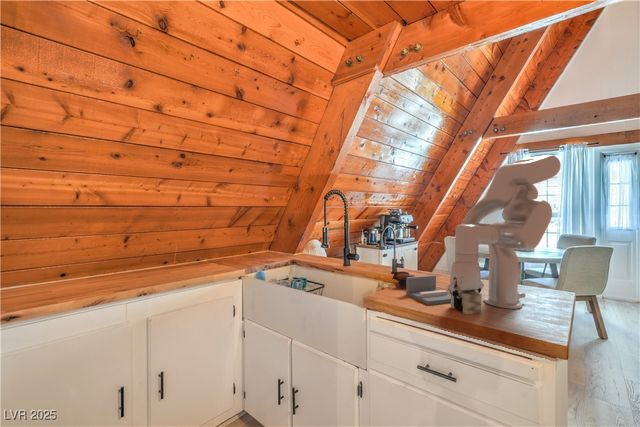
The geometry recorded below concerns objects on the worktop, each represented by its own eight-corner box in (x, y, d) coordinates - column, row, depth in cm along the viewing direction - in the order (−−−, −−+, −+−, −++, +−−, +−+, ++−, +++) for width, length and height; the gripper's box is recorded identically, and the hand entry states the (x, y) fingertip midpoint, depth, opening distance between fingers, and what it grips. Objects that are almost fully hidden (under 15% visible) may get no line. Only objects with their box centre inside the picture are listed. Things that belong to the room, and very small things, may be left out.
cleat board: (433, 292, 128) (433, 275, 128) (457, 301, 115) (458, 282, 114) (406, 294, 123) (406, 277, 123) (428, 305, 110) (428, 285, 110)
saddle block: (464, 305, 110) (464, 288, 110) (481, 312, 103) (481, 294, 103) (450, 307, 108) (450, 289, 108) (466, 314, 101) (467, 295, 101)
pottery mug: (388, 288, 135) (388, 271, 139) (397, 293, 141) (397, 277, 145) (414, 286, 128) (412, 268, 132) (422, 291, 134) (420, 274, 138)
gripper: (476, 255, 112) (475, 302, 112) (439, 257, 106) (438, 306, 106) (493, 259, 104) (492, 308, 105) (455, 261, 99) (454, 313, 99)
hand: (465, 307), depth 106 cm, fingers closed on saddle block, 6 cm apart
